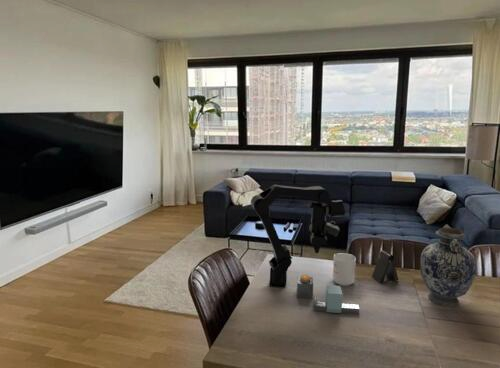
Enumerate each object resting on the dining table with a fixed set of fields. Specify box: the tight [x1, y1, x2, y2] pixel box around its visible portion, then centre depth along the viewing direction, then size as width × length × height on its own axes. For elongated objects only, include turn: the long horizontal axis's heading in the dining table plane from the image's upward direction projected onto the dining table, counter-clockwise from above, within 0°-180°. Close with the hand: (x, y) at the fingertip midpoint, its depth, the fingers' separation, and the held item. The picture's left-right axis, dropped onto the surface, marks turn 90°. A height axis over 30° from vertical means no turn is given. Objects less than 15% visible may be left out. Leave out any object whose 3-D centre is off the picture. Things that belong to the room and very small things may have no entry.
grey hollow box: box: [296, 275, 314, 300], centre depth 139 cm, size 6×6×6 cm
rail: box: [312, 296, 360, 315], centre depth 129 cm, size 16×3×4 cm, turn 83°
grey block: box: [325, 284, 344, 314], centre depth 128 cm, size 5×6×7 cm
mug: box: [332, 252, 357, 287], centre depth 151 cm, size 12×9×11 cm
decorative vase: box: [419, 224, 478, 308], centre depth 134 cm, size 21×19×28 cm
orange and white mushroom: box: [300, 274, 311, 283], centre depth 139 cm, size 4×4×7 cm
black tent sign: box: [371, 250, 399, 284], centre depth 153 cm, size 9×6×12 cm, turn 104°
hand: (316, 252), depth 149 cm, fingers closed
